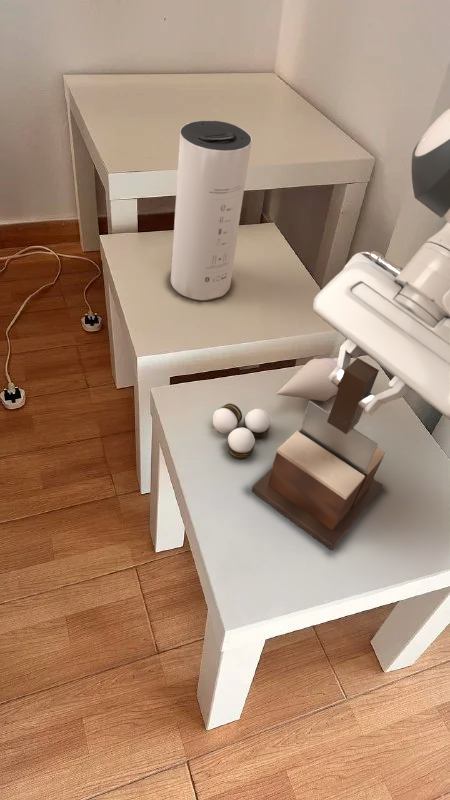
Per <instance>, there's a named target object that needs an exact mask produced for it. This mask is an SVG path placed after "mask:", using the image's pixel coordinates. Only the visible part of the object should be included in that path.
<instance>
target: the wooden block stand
mask: <svg viewBox="0 0 450 800" xmlns="http://www.w3.org/2000/svg"><path fill="white" fill-rule="evenodd" d="M301 427H302V425H301V426H300V428H299V431H298V430H296V431H295V432H294V433H292V435H290V436H289V437H288V438H287V439H286V440H285V441H284V442H283V443H282V444H281V445H280V446H279V447H277V448H276V449H277V450H276V453H275V457H274V460H273V463H272V467H271V468H270V469H269V470H268V471H267V472H265V473H264V475H263V476H262V477H261V478H259V480H257V482H255V484H253V485H252V487H251V492H252V493H253V494H255V495H256V496H258V498H260V499H261V500H262V501H264V502H266V503H267V504H268V505H270V506H271V507H272V508H273V509H275V511H277V512H279V513H280V514H282V515H283V516H284V517H285V518H287V519H289V521H291V522H292V523H294V524H295V525H296V526H298V527H299V528H300V529H302V530H303V531H305V532H306V533H307V534H309V535H310V536H311V537H312V538H314V539H315V540H317V541H318V542H320V544H322V545H323V546H325V547H327V548H328V549H329V550H330V551H332V550H333V549H334V548H335V547H336V545H337V544H338V543H339V542H340V541H341V540H342V538H343V537H344V536H345V535H346V534H347V532H348V531H350V529H351V527H353V525H354V524H355V523H356V521H357V520H358V519H359V518H360V517H361V515H363V513H364V512H365V511H366V509H367V508H368V507H369V506H370V504H372V502H373V501H374V500H375V498H376V497H377V496H378V495H379V493H380V492H381V491H382V490H383V488H384V484H382V483H381V482H380V481H378V480H376V479H375V478H376V477H375V476H376V474H377V473H378V470H379V468H380V466H381V463H382V462H383V460H384V458H385V455H386V451H385V450H383V449H381V448H379V447H378V446H377V447H376V449H375V452H374V454H373V456H372V458H371V461H370V463H369V465H368V467H367V469H366V472H365V474H364V475H363V474H361V473H360V472H358V471H357V470H355V469H354V468H352V467H351V466H349V465H348V464H346V463H345V462H343V461H342V460H340V459H339V458H337V457H336V456H334V455H333V454H331V453H330V452H328V451H327V450H325V449H324V448H322V447H321V446H319V445H318V444H316V443H315V442H313V441H312V440H310V439H309V438H307V437H306V436H304V435H303V434H301V433H300V430H301Z"/></svg>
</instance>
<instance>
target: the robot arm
mask: <svg viewBox="0 0 450 800" xmlns="http://www.w3.org/2000/svg"><path fill="white" fill-rule="evenodd" d="M411 182H412V183H411V184H412V190H413V196H414V199H416V200H417V201H418V202H420V203H421V204H422V205H423V206H424V207H426V208H427V209H428V210H430V211H431V212H433V213H434V214H435V215H436V216H438V217H439V218H440V219H442V218H443V219H444V220H445V221H446V223H445V225H444V226H443V227H442V228H441V229H440V230H439V231H438V232H436V233H435V234H433V235H432V236H430V237H429V238H428V239H427V240H426V241H425V242H424V243H423V244H422V246H421V247H420V248H419V249H418V250H417V252H416V253H415V254H414V255H413V256H412V257H411V259H410V260H409V261H408V262H407V263H406V264H405V266H404V267H403V268H402V267H401V266H399V265H398V264H396V263H394V262H393V261H391V260H388V259H387V258H386V257H384V255H382V254H381V253H380V252H378V251H375V250H372V251H361V252H357V253H355V254H354V255H352V256H351V258H350V259H349V260H348V261H347V263H346V264H344V267H343V268H342V270H341V271H339V272H338V273H337V274H336V275H335V276H334V277H333V278H332V279H331V280H330V281H329V282H328V283H327V284H325V286H324V287H323V288H322V289H321V290H320V291H319V292H318V293H317V294H316V296H315V297H314V298H313V302H312V311H313V312H314V314H316V315H317V316H318V317H319V318H320V319H321V320H323V321H324V322H325V323H326V324H328V325H329V326H330V327H331V328H333V329H334V330H335V331H336V332H338V333H339V334H340V335H342V336H343V337H344V338H345V341H344V342H343V343H342V344H341V345H340V347H339V352H338V357H337V358H338V362H337V365H338V366H337V367H336V368H335V369H334V370H333V372H332V373H331V374H330V375H329V377H328V380H329V381H331V382H332V383H333V384H334V385H335V386H337V387H338V388H339V385H340V382H341V379H342V376H343V373H344V370H345V369H346V368H347V367H348V366H349V364H350V363H351V360H352V358H353V359H355V360H356V359H357V358H359V356H360V355H361V354H362V353H364V354H366V355H367V356H368V357H369V358H370V359H372V360H373V361H375V362H376V363H377V364H379V366H381V367H382V368H383V369H385V370H386V372H388V373H390V374H391V375H392V376H393V377H392V378H391V380H389V382H388V386H389V387H390V388H389V389H386V390H384V391H381V392H379V393H376V394H373V393H372V392H369V391H368V392H367V393H366V394H365V395H364V398H363V399H361V400H360V401H359V402H358V405H359V406H360V407H361V408H362V409H363V411H365V413H367V414H368V415H370V416H372V415H374V414H375V413H376V412H377V410H378V409H379V408H380V407H381V406H382V405H383V404H387V403H390V402H393V401H395V400H396V401H397V400H398V399H401V398H403V397H404V396H405V395H406V394H407V393H408V392H409V390H411V391H413V392H414V393H415V394H416V395H418V397H420V398H421V399H423V401H425V402H426V403H428V404H429V405H430V406H431V407H432V408H434V409H435V410H437V411H438V412H439V413H440V414H442V415H443V416H444V417H446V418H447V419H448V420H449V421H450V107H449V108H448V109H447V110H445V111H444V112H443V113H442V114H441V115H439V116H438V117H437V118H436V119H435V121H433V123H432V124H431V125H429V127H428V128H427V130H426V131H425V132H424V134H423V135H422V137H421V138H420V139H419V140H418V142H417V143H416V145H415V147H414V148H413V151H412V154H411ZM367 256H368V257H367Z"/></svg>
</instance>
